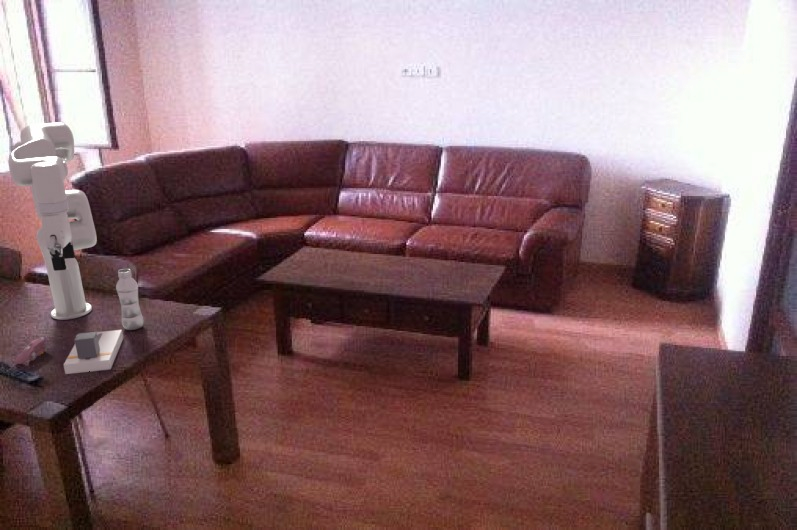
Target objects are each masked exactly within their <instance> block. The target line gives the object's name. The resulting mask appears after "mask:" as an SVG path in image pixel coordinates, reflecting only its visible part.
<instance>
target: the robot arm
mask: <svg viewBox="0 0 797 530" xmlns="http://www.w3.org/2000/svg"><path fill="white" fill-rule="evenodd" d="M19 136H20V140H19V141H17V142H15V143H14V145H13V147H12V148H13V150H12V151H11V152H10V154H9V156H8V168H9V175H10V177H11V180H12V182H13V183H14V184H15V185H17V186H18V187H30V189H31V194H32V199H33V204H34V208H35V209H34V210H35V212H36V214H37V215H36V216H38V219H39V220H40V221H41V226H40V227H39V228H38V230H37V232H36V235H35V236H36V241H37V245H38V247H39V249H40V252H41V254H42V257H43V261H44V265H45V268H46V273H47V276H48V282H49V287H50V291H51V296H52V299H53V300H52V301H53V304H54V309H52V310H51V312H50V316H51V317H52V319H55V320H60V321H61V320H62V321H64V320H66V321H67V320H73V319H77V318H81V317H83V316H86V315H88V314H89V313H90V312H91V311H92V310H93V308H92V305H91V304H90V303H88V302H86V298H85V293H84V288H83V282H82V277H81V271H80V267H79V262H78V261H77V259H76V258H75V257H76V254H75V251H77V250H84V249H88V248H92V247H94V246H95V245H96V244H97V241H98V240H97V239H98V238H97V232H96V228H95V227H96V226H95V223H94V220H93V215H92V210H91V206H90V203H89V200H88V196H87V195H86V193H85V192H84V191H83V190H80V189H69V190H66V188H65V182H64V181H65V180H66V177H67V176H68V174H69V171H68V170H69V169H68V166H67V163H68V162H72V161H73V160H74V158H75V139H74V135H73V132H72V130H71V128H70V127H69V126H68V125H67V124H66V123H63V122H48V123H35V124H29V125H26V126H25V127H23V128H22V130H21V132H20V134H19ZM73 219H74V221H73ZM75 219H76V220H75ZM70 220H72V221H70Z"/></svg>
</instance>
